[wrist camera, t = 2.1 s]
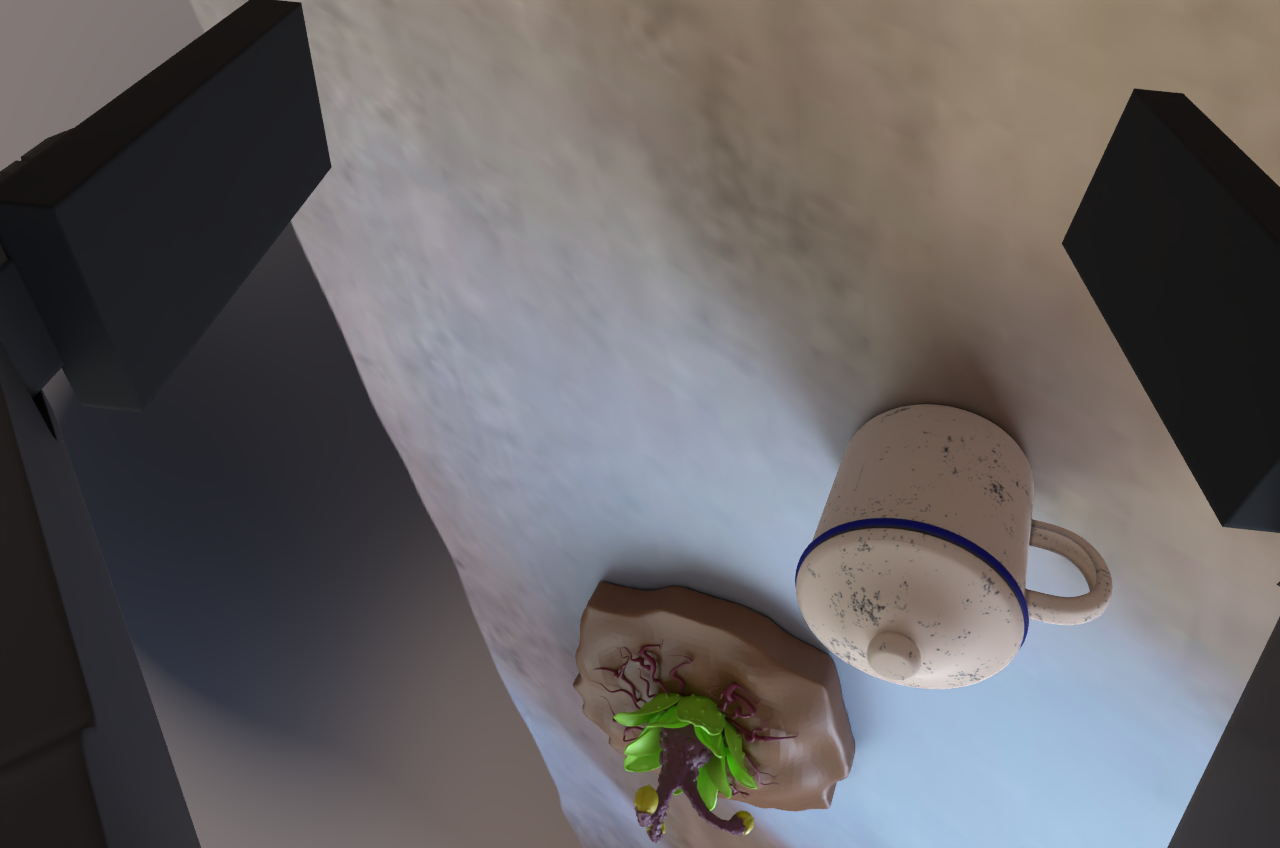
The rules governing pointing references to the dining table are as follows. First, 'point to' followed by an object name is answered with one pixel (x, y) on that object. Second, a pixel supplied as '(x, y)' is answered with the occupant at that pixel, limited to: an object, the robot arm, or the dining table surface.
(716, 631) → the plant
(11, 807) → the robot arm
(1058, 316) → the dining table surface
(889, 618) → the teacup with lid
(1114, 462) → the dining table surface
